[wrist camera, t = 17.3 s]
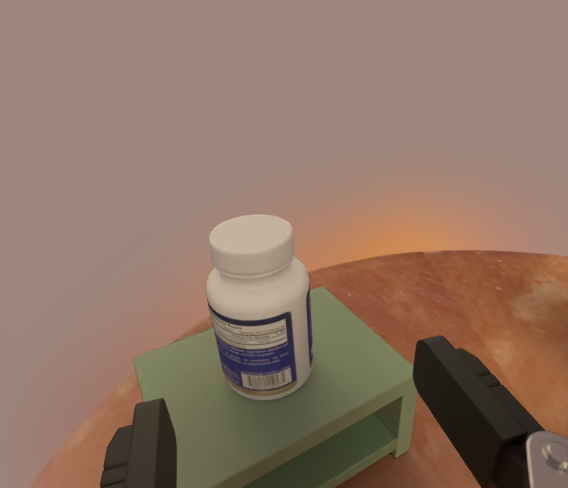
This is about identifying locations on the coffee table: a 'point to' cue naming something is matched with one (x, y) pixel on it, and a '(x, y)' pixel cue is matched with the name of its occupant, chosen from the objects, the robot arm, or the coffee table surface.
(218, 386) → the stand
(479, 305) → the coffee table surface
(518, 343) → the coffee table surface
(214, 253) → the pill bottle
